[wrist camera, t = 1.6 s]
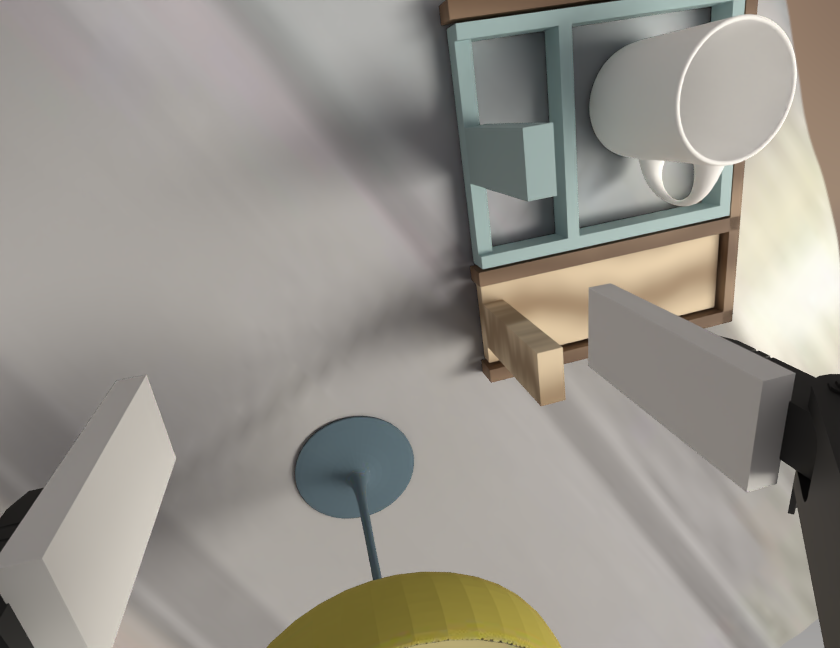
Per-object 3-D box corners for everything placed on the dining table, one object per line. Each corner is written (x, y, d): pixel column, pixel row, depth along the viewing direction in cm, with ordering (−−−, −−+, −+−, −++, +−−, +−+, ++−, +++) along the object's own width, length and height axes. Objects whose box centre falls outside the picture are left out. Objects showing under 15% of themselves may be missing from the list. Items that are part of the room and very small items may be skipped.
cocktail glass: (267, 367, 43) (241, 640, 20) (471, 389, 48) (636, 626, 25) (240, 546, 48) (195, 924, 25) (427, 548, 53) (530, 864, 30)
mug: (589, 207, 44) (673, 230, 35) (582, 50, 40) (677, 25, 30) (679, 187, 46) (785, 203, 36) (682, 33, 41) (804, 3, 31)
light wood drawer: (476, 283, 44) (535, 332, 34) (709, 231, 48) (830, 261, 37) (484, 357, 47) (542, 424, 36) (705, 303, 50) (817, 350, 40)
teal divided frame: (446, 29, 37) (512, -13, 26) (723, -11, 41) (884, -62, 30) (473, 262, 44) (535, 308, 33) (710, 211, 47) (838, 237, 36)
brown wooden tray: (438, 6, 37) (447, -2, 35) (737, -35, 40) (761, -43, 38) (482, 371, 48) (491, 382, 46) (714, 313, 51) (731, 321, 49)
